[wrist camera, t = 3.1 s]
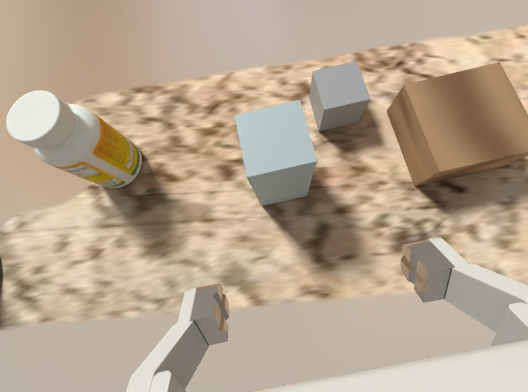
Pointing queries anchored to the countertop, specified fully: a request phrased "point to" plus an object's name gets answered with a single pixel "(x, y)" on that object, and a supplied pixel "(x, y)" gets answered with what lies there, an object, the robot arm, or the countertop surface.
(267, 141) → the pillar
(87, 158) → the supplement bottle
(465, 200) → the countertop surface
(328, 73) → the block
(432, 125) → the plinth
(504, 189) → the countertop surface
